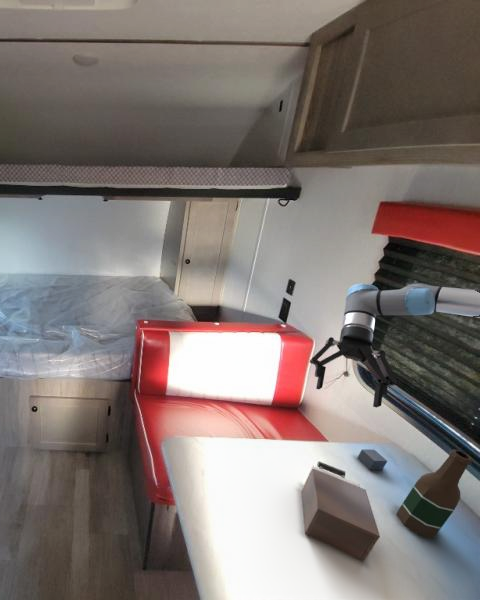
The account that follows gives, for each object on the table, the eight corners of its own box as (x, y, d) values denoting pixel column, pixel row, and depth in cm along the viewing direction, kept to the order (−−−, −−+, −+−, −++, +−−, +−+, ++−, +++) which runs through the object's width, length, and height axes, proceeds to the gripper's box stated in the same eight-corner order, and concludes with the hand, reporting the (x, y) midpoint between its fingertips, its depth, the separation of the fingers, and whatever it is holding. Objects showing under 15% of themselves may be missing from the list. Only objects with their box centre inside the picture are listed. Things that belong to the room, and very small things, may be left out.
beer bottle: (397, 527, 84) (444, 456, 75) (391, 505, 90) (435, 436, 81) (439, 548, 80) (494, 475, 71) (430, 523, 86) (480, 452, 77)
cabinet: (300, 493, 90) (312, 468, 87) (350, 515, 86) (365, 489, 82) (303, 536, 79) (317, 508, 76) (362, 564, 75) (380, 536, 71)
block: (368, 460, 105) (374, 449, 103) (381, 471, 101) (387, 461, 99) (356, 460, 104) (361, 449, 102) (368, 471, 100) (374, 461, 98)
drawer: (302, 474, 96) (311, 453, 93) (344, 491, 91) (355, 471, 89) (306, 523, 81) (318, 501, 79) (357, 547, 77) (371, 525, 74)
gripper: (402, 347, 99) (395, 416, 92) (306, 324, 110) (293, 384, 103) (417, 338, 93) (411, 411, 86) (313, 314, 103) (300, 377, 96)
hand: (347, 397), depth 94 cm, fingers open, 13 cm apart
